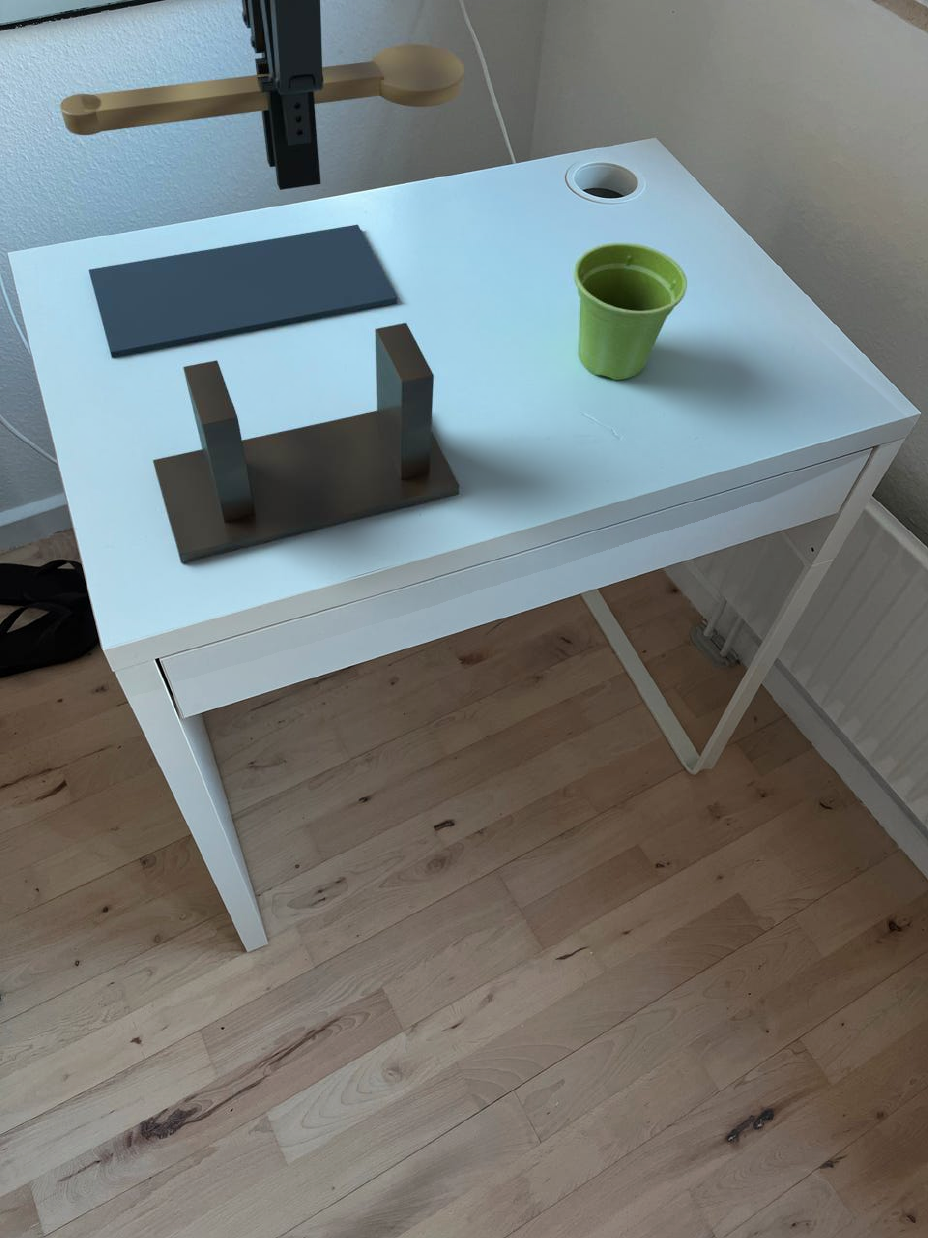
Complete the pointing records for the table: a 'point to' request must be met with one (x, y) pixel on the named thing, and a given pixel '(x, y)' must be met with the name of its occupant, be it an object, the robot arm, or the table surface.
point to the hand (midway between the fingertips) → (293, 171)
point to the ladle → (390, 74)
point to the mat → (237, 289)
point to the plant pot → (624, 305)
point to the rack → (305, 461)
